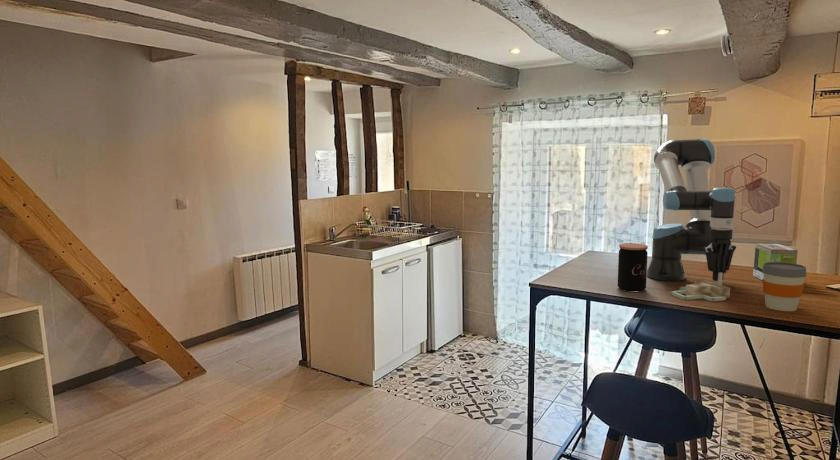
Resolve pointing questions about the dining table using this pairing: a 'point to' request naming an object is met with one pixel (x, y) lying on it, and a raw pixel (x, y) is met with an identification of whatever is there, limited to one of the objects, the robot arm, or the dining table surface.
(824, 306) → the dining table surface
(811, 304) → the dining table surface
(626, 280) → the coffee jar
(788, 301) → the reusable coffee cup
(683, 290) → the t outline
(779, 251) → the tea box
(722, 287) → the t block
